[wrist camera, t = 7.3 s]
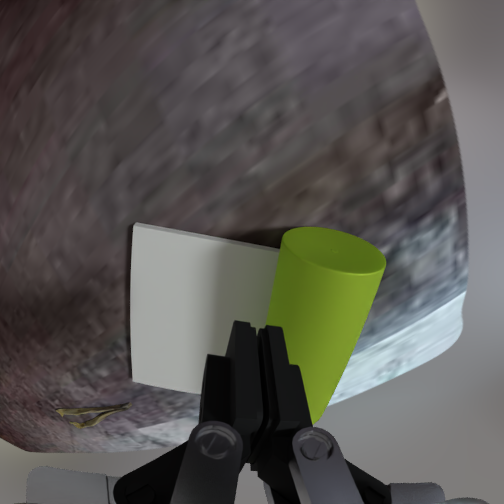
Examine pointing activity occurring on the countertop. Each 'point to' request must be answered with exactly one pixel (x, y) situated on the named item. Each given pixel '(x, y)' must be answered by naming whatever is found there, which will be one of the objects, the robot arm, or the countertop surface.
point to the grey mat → (191, 301)
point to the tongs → (97, 409)
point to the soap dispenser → (323, 303)
